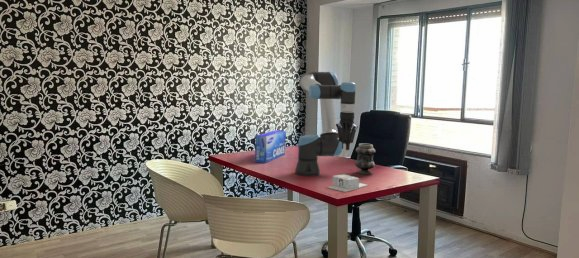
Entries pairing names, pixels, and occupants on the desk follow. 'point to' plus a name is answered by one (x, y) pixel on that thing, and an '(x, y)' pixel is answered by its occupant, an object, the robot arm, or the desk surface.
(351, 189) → the mat
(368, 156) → the apothecary jar
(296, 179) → the desk surface
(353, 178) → the ink box
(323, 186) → the desk surface
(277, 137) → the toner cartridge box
